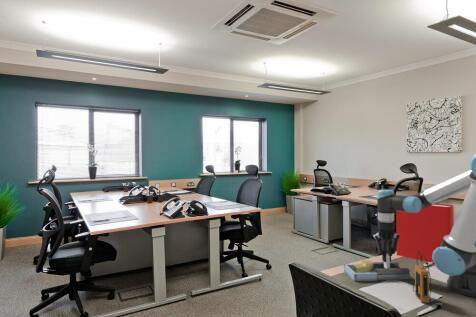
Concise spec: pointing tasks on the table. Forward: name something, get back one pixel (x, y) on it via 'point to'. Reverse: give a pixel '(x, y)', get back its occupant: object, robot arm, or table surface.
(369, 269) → the brass block
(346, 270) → the tray
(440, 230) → the book
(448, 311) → the table surface
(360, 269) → the brass block
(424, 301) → the multimeter
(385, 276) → the slotted deck
